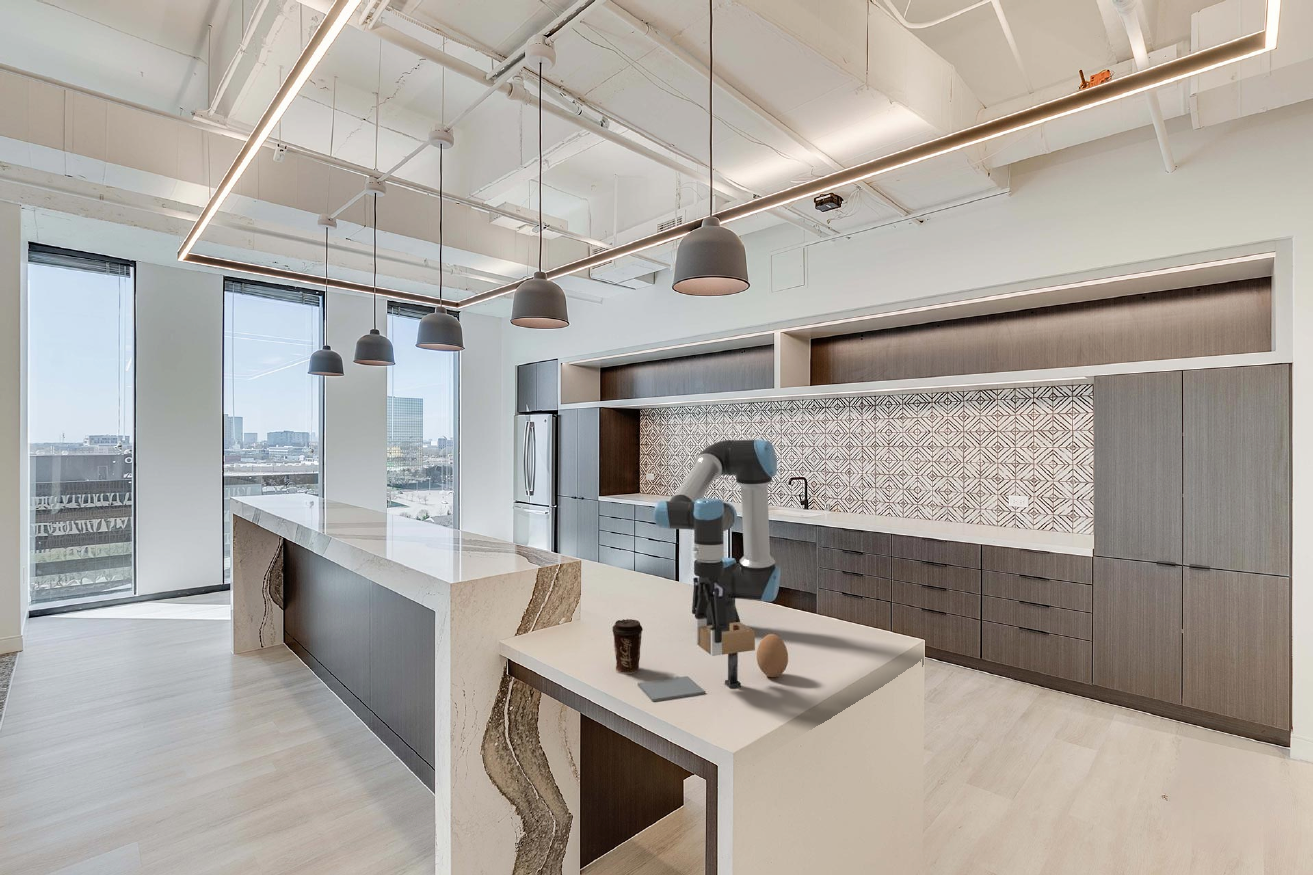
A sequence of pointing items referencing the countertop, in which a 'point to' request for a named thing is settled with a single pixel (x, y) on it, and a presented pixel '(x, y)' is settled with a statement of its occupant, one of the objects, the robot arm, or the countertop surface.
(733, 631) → the c link
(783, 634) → the countertop surface
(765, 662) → the egg
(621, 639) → the coffee cup
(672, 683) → the mat
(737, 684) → the post stand
